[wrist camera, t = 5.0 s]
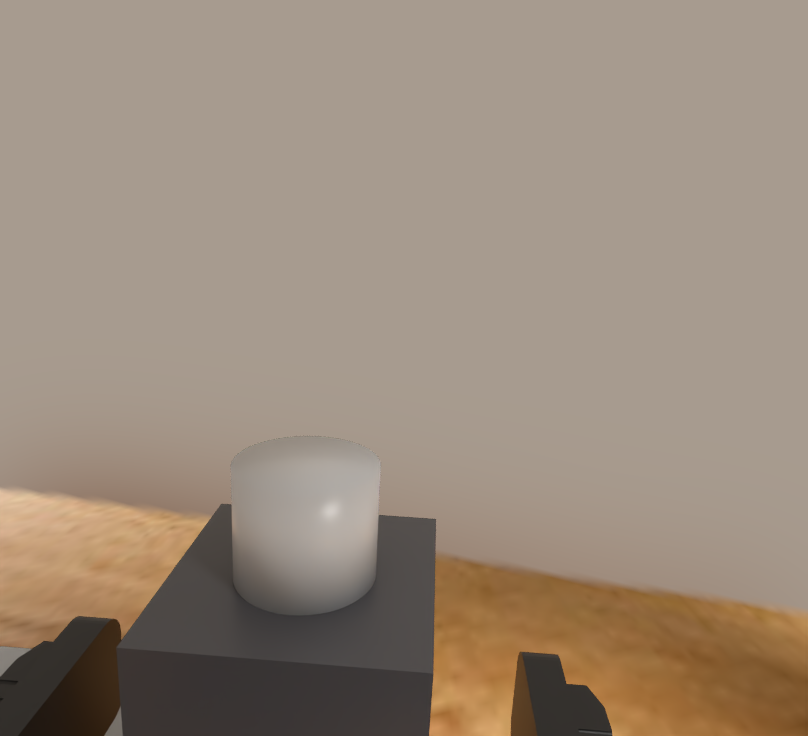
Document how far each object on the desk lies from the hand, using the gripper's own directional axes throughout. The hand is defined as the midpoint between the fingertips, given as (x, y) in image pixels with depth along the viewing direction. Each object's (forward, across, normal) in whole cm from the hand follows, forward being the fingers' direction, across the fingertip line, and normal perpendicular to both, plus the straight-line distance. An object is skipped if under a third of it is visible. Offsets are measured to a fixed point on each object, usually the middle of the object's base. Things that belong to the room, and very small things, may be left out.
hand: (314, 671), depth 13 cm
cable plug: (-1, 0, +6) cm, 6 cm away
